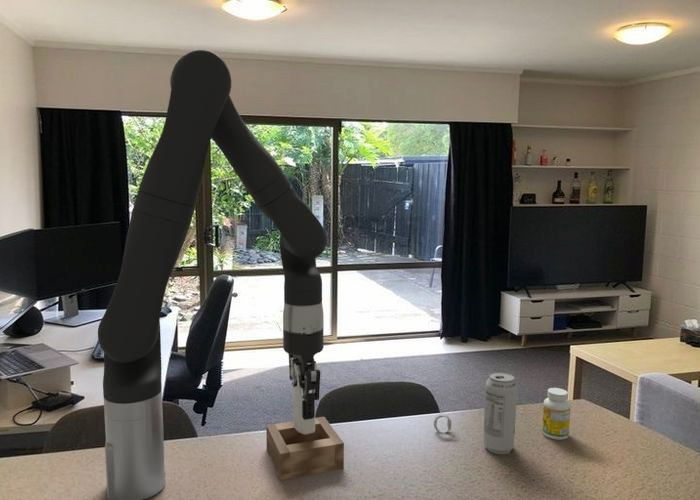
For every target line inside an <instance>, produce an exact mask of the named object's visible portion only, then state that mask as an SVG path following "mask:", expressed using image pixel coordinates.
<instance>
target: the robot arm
mask: <svg viewBox="0 0 700 500" xmlns="http://www.w3.org/2000/svg"><path fill="white" fill-rule="evenodd" d="M169 83H170V96H169V101H168V106H167V111H166V116H165V121H164V124H163V128H162V131H161V134H160V137H159V138H158V141H157V144H156V145H155V148H154V150H153V152H152V154H151V156H150V158H149V161H148V163H147V164H146V168H145V171H144V172H143V175H142V177H141V182H140V183H139V186H138V190H137V194H136V197H135V200H134V203H133V207H132V212H131V216H130V220H129V224H128V229H127V234H126V240H125V244H124V245H125V246H124V251H123V252H124V253H123V257H122V262H121V263H122V264H121V268H120V274H119V275H118V280H117V283H116V284H115V287H114V290H113V293H112V296H111V298H110V300H109V302H108V305H107V308H106V309H105V312H104V314H103V316H102V317H101V319H100V322H99V325H98V329H97V341H98V344H99V346H100V348H101V350H102V352H103V359H104V360H103V361H104V363H103V365H104V366H103V376H102V394H103V395H102V396H103V410H104V427H105V432H104V433H105V444H104V454H105V473H106V474H105V475H106V476H105V478H106V493H107V494H106V495H107V500H147V499H149V498H151V497H153V496H155V495H157V494H158V493H160V492H161V491H162V490H163V489H164V487H165V486H166V465H165V442H164V441H165V439H164V418H163V417H164V416H163V413H164V412H163V395H162V394H163V392H162V389H163V388H162V386H163V385H162V343H161V341H162V338H161V321H160V320H161V314H162V309H163V308H162V307H163V303H164V297H165V294H166V290H167V286H168V283H169V280H170V277H171V275H172V272H173V270H174V269H175V265H176V263H177V262H178V261H177V260H178V259H179V256H180V253H181V251H182V249H183V246H184V243H185V241H186V238H187V236H188V233H189V230H190V226H191V223H192V220H193V216H194V214H195V210H196V206H197V202H198V198H199V194H200V190H201V185H202V182H203V176H204V171H205V167H206V166H205V165H206V160H207V154H208V150H209V146H210V142H211V140H213V142H214V143H215V145H217V147H218V148H219V149H220V151H221V153H222V154H223V155H224V157H225V159H226V160H227V162H228V163H229V165H230V166H231V167H232V169H233V171H234V172H235V174H236V175H237V176H238V177H237V178H238V179H239V180H240V182H241V183H242V185H243V186H244V188H245V190H246V191H247V192H248V193H249V195H250V196H251V198H252V200H253V201H254V203H255V204H256V206H257V207H258V208H259V210H260V212H261V213H262V214H263V215H264V216H266V218H268V219H269V220H270V221H271V222H272V223H273V224H274V225H275V227H276V228H277V230H278V232H280V234H279V251H280V252H279V253H280V258H281V265H282V270H283V276H284V278H283V279H284V282H283V297H284V298H283V311H282V312H283V313H282V343H283V344H282V346H283V351H284V352H285V353H286V354H287V355H288V367H289V368H288V371H289V380H290V381H291V387H293V389H294V387H295V386H297V382H298V387H299V388H301V395H302V397H301V398H302V417H303V419H304V420H307V419H313V418H314V416H315V417H316V402H315V403H314V400H315V401H318V400H320V387H321V385H320V384H321V374H322V373H321V370H320V369H317V368H318V367H317V361H316V360H315V358H314V357H315V355H317V354H319V353H321V352H322V351H323V350H324V346H325V345H324V341H325V339H324V329H325V328H324V325H325V324H324V322H325V321H324V320H325V319H324V308H323V279H322V275H321V273H320V271H319V270H318V268H317V259H316V258H318V257H320V256H321V254H323V252H324V251H325V250H326V248H327V241H328V239H327V233H326V230H325V228H324V226H323V225H322V223H321V222H320V221H319V219H318V218H317V216H316V215H315V214H314V213H313V211H312V210H311V209H310V208H309V207H308V206H307V204H306V203H305V202H304V201H303V200H302V199H301V198H300V197H299V195H298V194H297V192H296V191H295V188H294V186H293V185H292V184H291V182H290V180H289V178H288V177H287V176H286V174H285V173H284V171H283V170H282V168H281V167H280V165H279V164H278V162H277V161H276V159H274V157H273V156H272V154H270V151H268V150H267V149H266V148H265V147H264V145H263V144H262V143H261V142H260V141H259V140H258V138H257V137H256V136H255V135H254V133H253V132H252V131H251V130H250V128H249V127H248V126H247V124H246V123H245V122H244V120H243V119H242V117H241V115H240V113H239V112H238V110H237V108H236V106H235V103H234V102H233V100H232V97H231V96H230V93H231V90H232V77H231V72H230V70H229V67H228V66H227V64H226V62H225V61H224V59H223V58H222V57H221V56H220V55H218V54H216V53H215V52H213V51H211V50H208V49H207V50H206V49H197V50H192V51H190V52H187V53H185V54H184V55H182V56H181V57H180V58H179V59H178V60H177V62H176V63H175V64H174V66H173V69H172V71H171V75H170V80H169ZM302 381H305V383H303V382H302ZM310 390H311V391H312V393H309V391H310Z"/></svg>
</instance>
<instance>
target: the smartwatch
mask: <svg viewBox="0 0 700 500" xmlns="http://www.w3.org/2000/svg"><path fill="white" fill-rule="evenodd" d="M443 417H444V418H446V419H447V425H446V427H447V428H445V429H439V428H438V426H437V424H438V420H439V419H440V418H443ZM433 427H434V429H435V430H436V431H437V432H438V433H440V434H446V433H448V432H449V431H451V430H452V418H451V417H450V416H449V415H448V414H447V413H438V414H437V415H435V417H434V420H433Z"/></svg>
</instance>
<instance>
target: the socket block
mask: <svg viewBox="0 0 700 500" xmlns="http://www.w3.org/2000/svg"><path fill="white" fill-rule="evenodd" d="M265 426H266V427H265V428H266V435H265V436H266V451H267V452H268V455H269V457H270V460H271V462H272V464H273V467H274V469H275V471H276V473H277V475H278V478H279V480H280V481H282V480H290V479H294V478H300V477H305V476H309V475H315V474H321V473H326V472H332V471H338V470H343V469H344V468H345V463H344V462H345V442H344V441H343V440H342V439H341V437H340V436H339V434H338V433H337V432H336V430H335V429H334V428H333V427H332V425H331V424H330V422H329V421H328V420H327V418H326V417H325V416H320V417H315V432H314V433H311V434H306V435H304V434H301V433H299V432H298V431H296V430H295V428H294V425H293V420H292V421H287V422H286V421H285V422H280V423H279V422H278V423H273V424H267V425H265Z"/></svg>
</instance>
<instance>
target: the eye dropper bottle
mask: <svg viewBox="0 0 700 500" xmlns="http://www.w3.org/2000/svg"><path fill="white" fill-rule="evenodd" d="M302 382H303V383H305V381H302ZM309 393H312V391H311V390H310V391H309ZM301 397H302V395H301V388H299V387H298V382H297V386H295V387H294V389H293V390H292V421H293V425H294V428H295V430H296V431H298V432H299V433H301V434H304V435H306V434H311V433H314V432H315V418H316V415H315V416H314V418H313V419H307V420H304V419H303V417H302V398H301ZM314 403H315V404H316V400H314Z"/></svg>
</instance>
